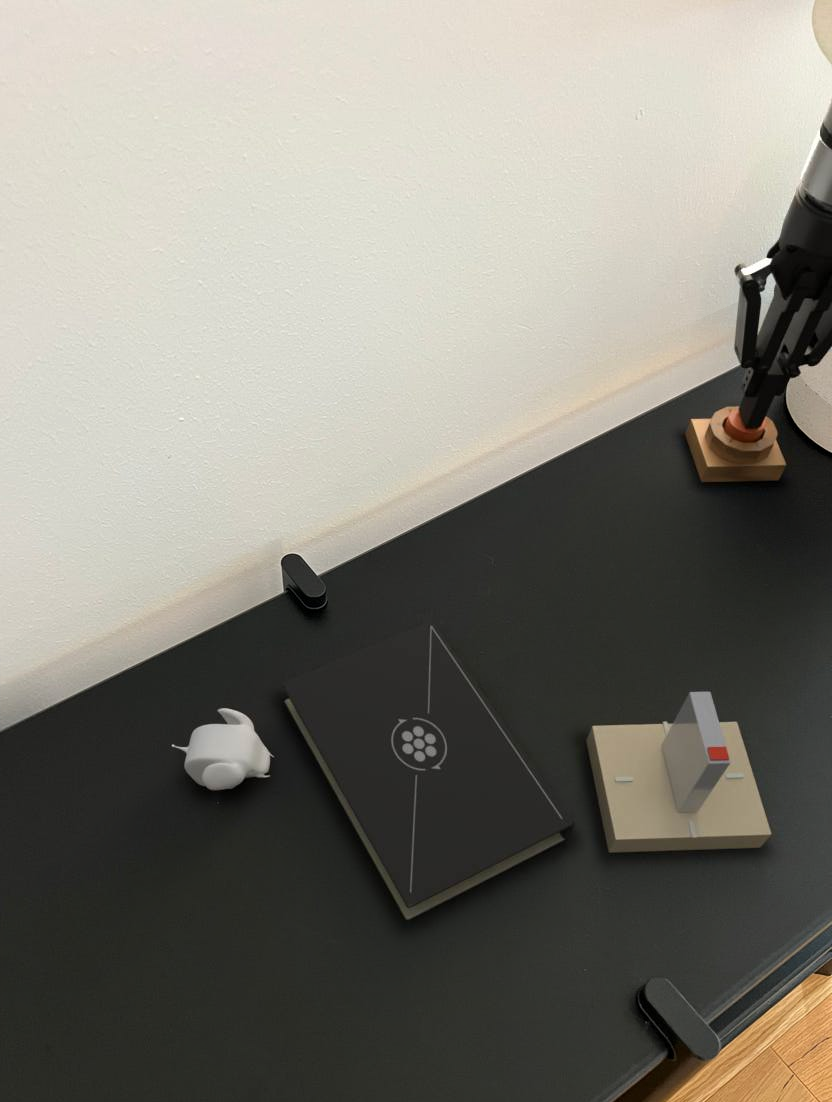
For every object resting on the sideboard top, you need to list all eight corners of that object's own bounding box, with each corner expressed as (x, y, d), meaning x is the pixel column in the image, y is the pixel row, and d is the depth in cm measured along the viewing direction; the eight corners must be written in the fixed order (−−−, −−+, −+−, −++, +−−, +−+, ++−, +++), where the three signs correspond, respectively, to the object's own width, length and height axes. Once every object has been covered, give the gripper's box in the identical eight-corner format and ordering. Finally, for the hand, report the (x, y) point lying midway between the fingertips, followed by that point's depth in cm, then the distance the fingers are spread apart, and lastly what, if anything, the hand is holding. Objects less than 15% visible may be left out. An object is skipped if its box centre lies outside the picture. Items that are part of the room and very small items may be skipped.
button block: (759, 433, 104) (773, 403, 101) (778, 480, 100) (793, 451, 97) (685, 434, 104) (696, 405, 101) (701, 482, 100) (713, 453, 97)
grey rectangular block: (660, 744, 79) (690, 689, 72) (680, 744, 79) (711, 689, 73) (677, 812, 76) (709, 761, 69) (698, 812, 76) (732, 761, 69)
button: (754, 420, 100) (760, 407, 99) (764, 445, 98) (770, 432, 97) (719, 421, 100) (724, 408, 99) (728, 446, 98) (734, 433, 97)
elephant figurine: (267, 815, 78) (262, 781, 73) (169, 805, 79) (157, 770, 74) (281, 742, 82) (277, 704, 77) (186, 732, 83) (177, 694, 78)
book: (571, 837, 77) (578, 821, 75) (406, 922, 73) (408, 908, 71) (433, 638, 88) (435, 618, 86) (283, 702, 84) (281, 683, 82)
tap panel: (727, 735, 83) (737, 719, 80) (761, 849, 77) (773, 834, 75) (585, 739, 82) (592, 723, 80) (608, 854, 76) (616, 840, 74)
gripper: (779, 220, 76) (693, 446, 95) (945, 217, 76) (826, 442, 96) (752, 169, 80) (675, 394, 100) (909, 165, 81) (802, 391, 100)
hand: (749, 418), depth 98 cm, fingers closed
